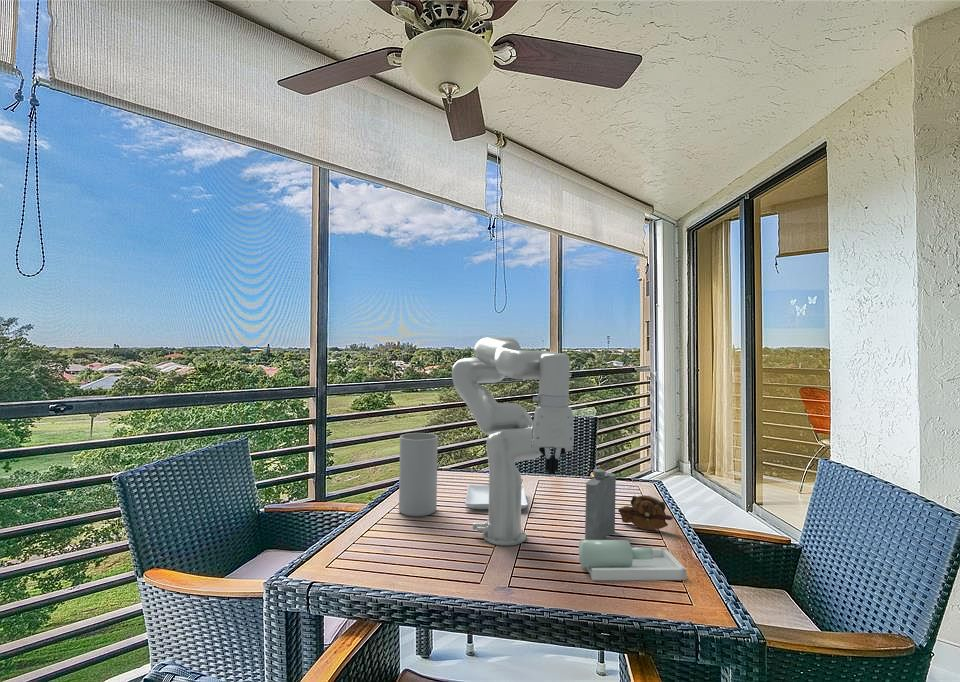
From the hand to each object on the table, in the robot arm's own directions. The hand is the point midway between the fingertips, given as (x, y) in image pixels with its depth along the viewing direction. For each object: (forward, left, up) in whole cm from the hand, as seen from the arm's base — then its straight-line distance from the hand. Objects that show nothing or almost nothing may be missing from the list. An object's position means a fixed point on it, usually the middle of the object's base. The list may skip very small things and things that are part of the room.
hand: (551, 473), depth 130 cm
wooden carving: (+35, +26, -24) cm, 50 cm away
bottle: (+8, -1, -20) cm, 22 cm away
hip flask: (+18, +19, -24) cm, 36 cm away
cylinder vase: (-37, +42, -24) cm, 61 cm away
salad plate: (-10, +51, -25) cm, 58 cm away
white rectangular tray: (+20, -1, -24) cm, 32 cm away
